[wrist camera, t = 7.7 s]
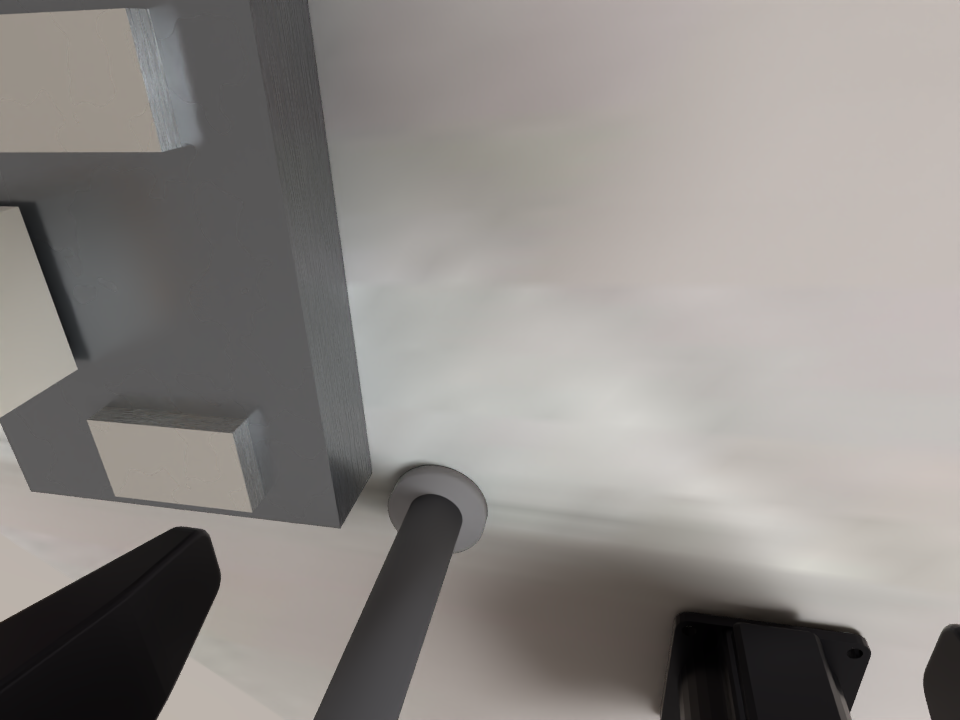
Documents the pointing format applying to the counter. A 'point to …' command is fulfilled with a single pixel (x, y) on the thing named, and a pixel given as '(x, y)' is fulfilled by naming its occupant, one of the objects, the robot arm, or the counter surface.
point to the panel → (183, 257)
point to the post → (404, 592)
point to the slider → (26, 320)
